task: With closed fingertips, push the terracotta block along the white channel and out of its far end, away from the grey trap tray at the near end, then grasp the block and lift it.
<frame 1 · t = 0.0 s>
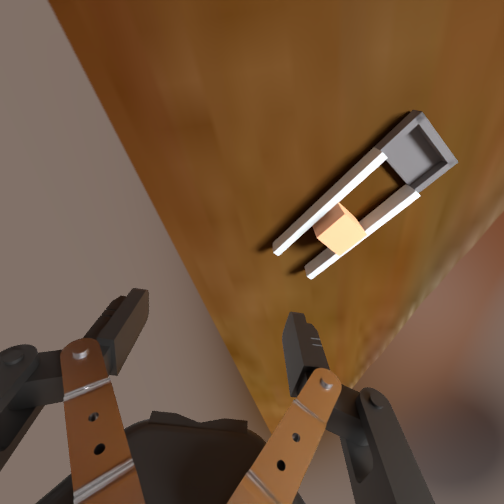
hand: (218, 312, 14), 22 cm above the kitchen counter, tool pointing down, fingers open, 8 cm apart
trap: (411, 152, 30), on the kitchen counter
block: (333, 219, 35), on the kitchen counter
channel: (336, 217, 35), on the kitchen counter
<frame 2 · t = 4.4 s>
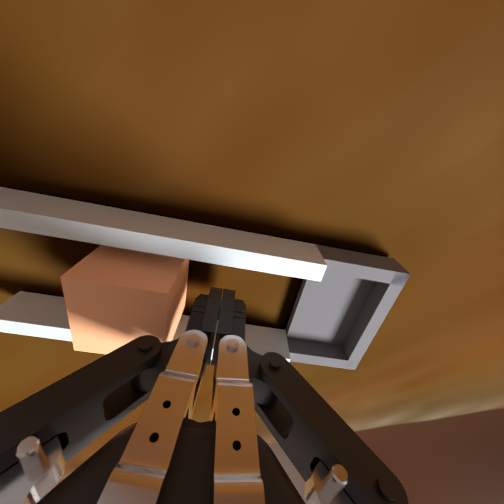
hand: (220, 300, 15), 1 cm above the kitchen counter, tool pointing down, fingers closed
trap: (332, 302, 17), on the kitchen counter
block: (152, 272, 16), on the kitchen counter, touching gripper
channel: (160, 275, 16), on the kitchen counter
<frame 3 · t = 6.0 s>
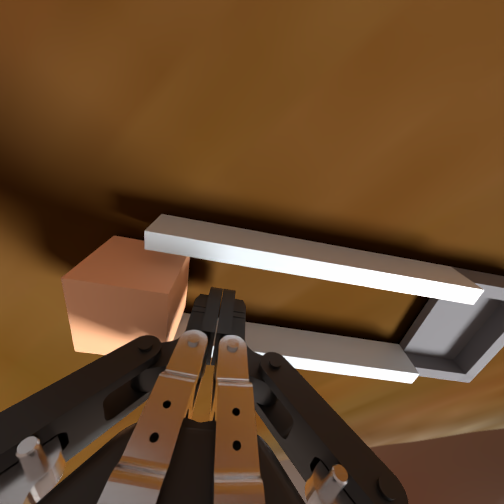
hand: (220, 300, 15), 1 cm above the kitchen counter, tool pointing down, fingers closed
trap: (451, 319, 17), on the kitchen counter
block: (152, 273, 16), on the kitchen counter, touching gripper
channel: (296, 294, 16), on the kitchen counter
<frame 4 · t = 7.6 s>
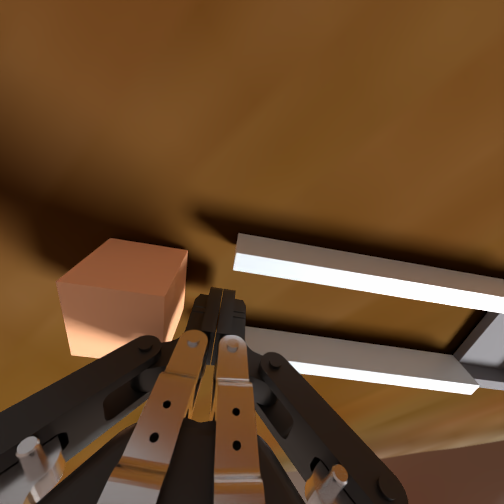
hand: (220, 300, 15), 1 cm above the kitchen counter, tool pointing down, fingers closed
block: (149, 275, 15), on the kitchen counter, touching gripper
channel: (358, 308, 17), on the kitchen counter
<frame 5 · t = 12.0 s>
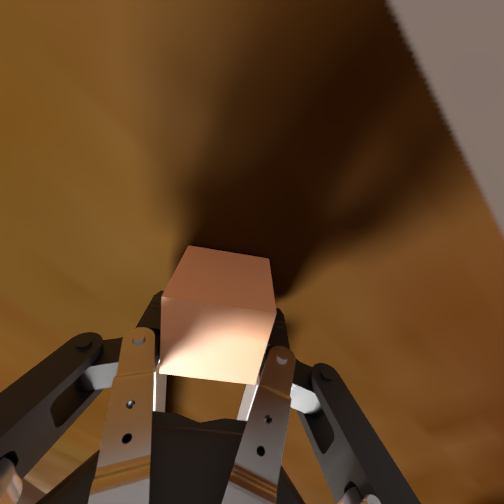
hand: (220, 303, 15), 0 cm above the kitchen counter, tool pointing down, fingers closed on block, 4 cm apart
block: (223, 285, 14), on the kitchen counter, touching gripper
channel: (200, 420, 21), on the kitchen counter
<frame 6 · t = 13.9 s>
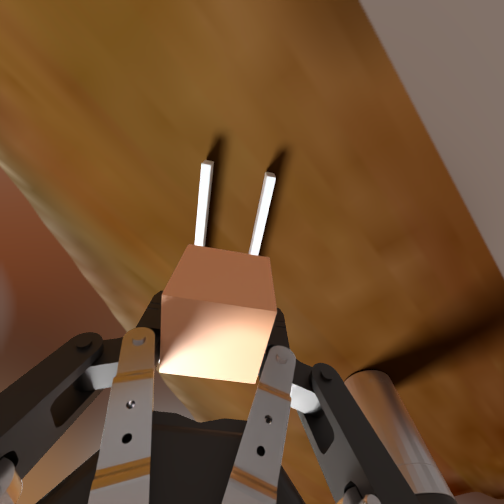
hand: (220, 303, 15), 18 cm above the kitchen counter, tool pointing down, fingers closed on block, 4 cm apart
block: (224, 284, 14), point 18 cm above the kitchen counter, touching gripper
channel: (229, 236, 32), on the kitchen counter
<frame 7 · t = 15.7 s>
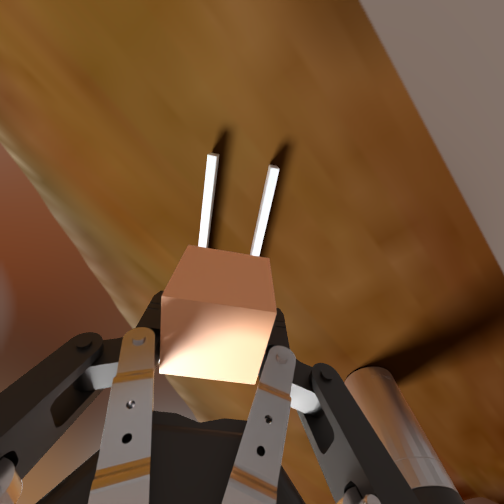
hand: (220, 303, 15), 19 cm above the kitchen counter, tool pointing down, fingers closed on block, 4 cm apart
block: (223, 284, 14), point 19 cm above the kitchen counter, touching gripper
channel: (232, 228, 33), on the kitchen counter
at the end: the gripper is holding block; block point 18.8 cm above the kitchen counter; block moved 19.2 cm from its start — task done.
